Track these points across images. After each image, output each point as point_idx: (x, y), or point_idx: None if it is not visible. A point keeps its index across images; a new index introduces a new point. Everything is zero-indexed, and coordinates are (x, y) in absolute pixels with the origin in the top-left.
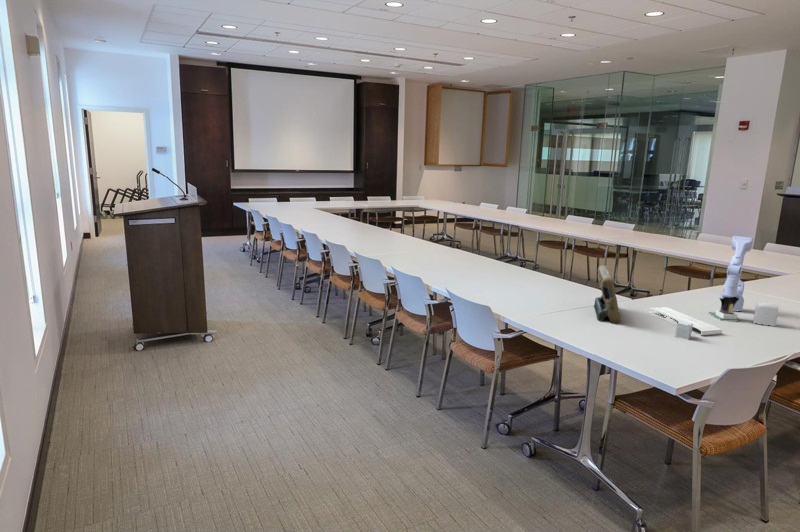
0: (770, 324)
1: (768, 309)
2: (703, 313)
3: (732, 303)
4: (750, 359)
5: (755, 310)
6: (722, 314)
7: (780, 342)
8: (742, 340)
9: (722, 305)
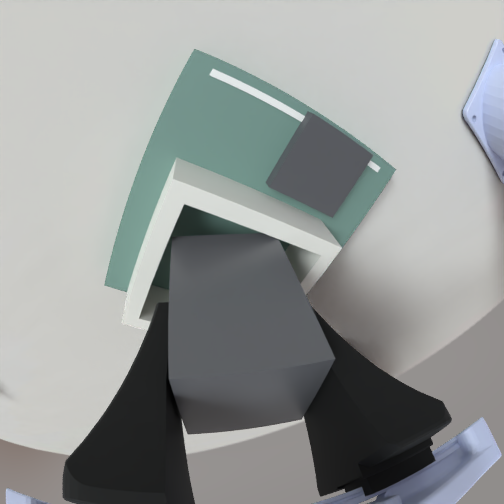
0: None
1: None
2: (133, 29)
3: (291, 418)
4: (6, 437)
5: None
6: (127, 300)
7: None
8: (37, 420)
9: (144, 359)
